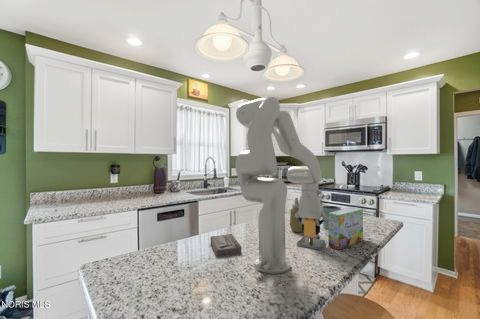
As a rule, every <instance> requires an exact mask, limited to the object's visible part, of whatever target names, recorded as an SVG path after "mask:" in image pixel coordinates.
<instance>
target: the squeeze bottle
mask: <svg viewBox="0 0 480 319" xmlns="http://www.w3.org/2000/svg"><path fill="white" fill-rule="evenodd" d="M294 198H295V199H294V203H292V205H291V206H292V208H290V216H289V226H290V230H291V231H292V232H294V233H303V230H302V224H301V222H300V221H299V220H298V219H297V218H296V217H295V214H296V213H297V212H298V210H299V199H298V197H294ZM301 218H302V217H301Z"/></svg>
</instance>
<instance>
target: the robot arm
mask: <svg viewBox="0 0 480 319" xmlns="http://www.w3.org/2000/svg"><path fill="white" fill-rule="evenodd" d="M279 101H280V100H278V98H276V97H274V96H266V97H265V96H263V97H261V98H257V99H254V100H251V101H247V102H244V103H242V104H240V105H238V106H237V109H236V111H235V114H236V119H237V121H238V122H239V123H240V124H241V126H244V127H245V128H247V129H248V130H247V134H246V142H247V146H248V150H244V151H240V153H238V155H237V156H236V159H235V163H234V164H235V166H234V167H235V172H236V175H237V179H238V184H239V188H240V190H241V194H242V196H243V198H244V199H245V200H246V201H247V202H251V203H256V204H262V207H261V209H260V210H259V213H258V215H257V216H258V218H257V222H258V258H257V259H255V261H254V269H255V270H257V271H259V272H263V273H266V274H271V275H277V274H283V273H286V272H288V271H289V270H290V269H291V263H290V261H289V260H288V259H286V258H287V257H286V256H287V255H286V250H287V249H286V218H285V216H286V215H285V214H286V203H287V196H288V186H287V185H286V182H284V181H283V180H282V179H279V178H277V177H270V176H272V175H274V174H275V173H276V172H277V170H278V169H277V168H278V162H277V157H276V153H275V148H274V144H273V139H272V134H273V136H274V138H275V141H276V143H277V145H278V148H279V151H280V152H281V153H282V154H285V155H287V156H289V157H291V158H294V159H296V160H299V161H301V162H302V163H303V164H304V165H296V166H291V167H289V168H288V170H287V172H286V178H287V180H288V181H289V182H290V183H293V184H301V185H300V188H301V189H300V190H301V191H300V192H301V195H299V199H298V202H299V210H298V212H297V213H296V214H295V217H296V218H297V219H298V220H299V221H300V222H301V224H302V230H303V231H302V233H303V234H304V219H306V218H310V219H315V221H316V235H320V234H321V225H323V222H324V221H326V220H327V219H328V218H327V216H326V215H325V214H324V213H323V207H322V206H323V201H322V196H321V195H323V191H322V190H320V189H319V183H320V181H321V179H322V170H321V166H320V163H319V161H318V158H317V156H316V155H315V154H314V153H313V152H312V151H311V149H309V148H308V147H307V146H305V145H303V143H301V142H300V139H299V136H298V133H297V130H296V127H295V124H294V122H293V119H292V116H291V114H290V113H289V112H288V111H286V110H281V109H280V108H281V107H280V106H281V104H280V102H279ZM301 217H302V218H301ZM322 217H323V218H322Z"/></svg>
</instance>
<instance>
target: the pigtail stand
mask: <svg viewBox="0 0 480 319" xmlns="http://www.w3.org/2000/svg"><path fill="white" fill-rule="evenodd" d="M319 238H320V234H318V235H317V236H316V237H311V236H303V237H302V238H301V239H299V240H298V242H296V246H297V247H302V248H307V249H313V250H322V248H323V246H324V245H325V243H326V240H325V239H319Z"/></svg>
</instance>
